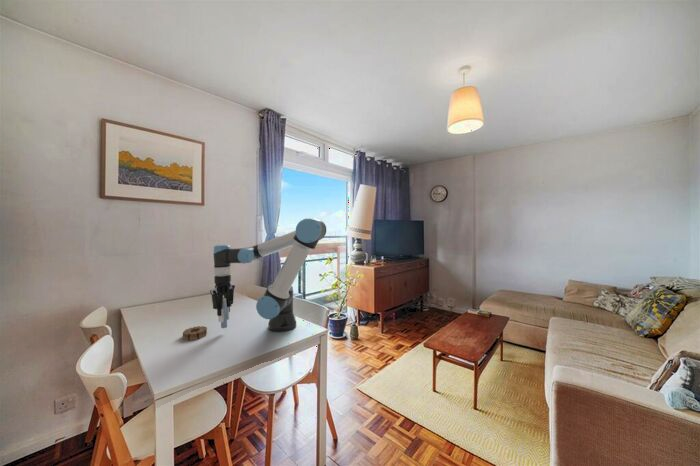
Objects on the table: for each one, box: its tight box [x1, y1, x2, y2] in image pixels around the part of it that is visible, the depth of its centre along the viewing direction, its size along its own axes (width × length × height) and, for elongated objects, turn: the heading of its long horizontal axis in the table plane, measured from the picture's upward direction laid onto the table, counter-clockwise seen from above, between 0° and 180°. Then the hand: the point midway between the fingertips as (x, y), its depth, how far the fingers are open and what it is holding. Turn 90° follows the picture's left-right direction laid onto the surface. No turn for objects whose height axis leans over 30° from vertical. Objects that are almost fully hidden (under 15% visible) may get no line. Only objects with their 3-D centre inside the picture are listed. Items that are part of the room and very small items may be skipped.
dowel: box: [220, 296, 228, 329], centre depth 127 cm, size 3×3×15 cm
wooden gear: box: [182, 325, 208, 341], centre depth 125 cm, size 10×10×3 cm
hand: (223, 320), depth 127 cm, fingers closed on dowel, 3 cm apart
